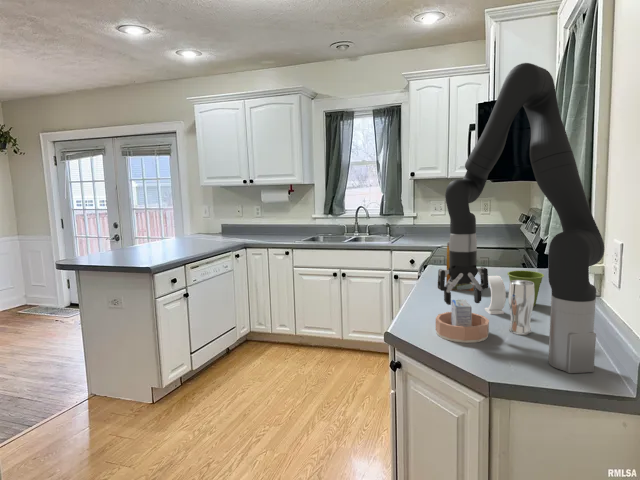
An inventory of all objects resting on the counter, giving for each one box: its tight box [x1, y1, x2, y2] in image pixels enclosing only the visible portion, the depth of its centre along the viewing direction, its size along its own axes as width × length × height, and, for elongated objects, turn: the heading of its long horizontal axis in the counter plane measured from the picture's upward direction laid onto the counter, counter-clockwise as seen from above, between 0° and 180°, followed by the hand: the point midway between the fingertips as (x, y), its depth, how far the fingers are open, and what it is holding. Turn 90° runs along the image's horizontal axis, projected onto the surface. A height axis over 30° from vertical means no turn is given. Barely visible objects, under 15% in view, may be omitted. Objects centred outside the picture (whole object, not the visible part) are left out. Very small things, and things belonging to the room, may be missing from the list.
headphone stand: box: [484, 275, 507, 315], centre depth 150 cm, size 5×6×12 cm
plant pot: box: [507, 269, 545, 307], centre depth 158 cm, size 12×12×11 cm
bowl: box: [435, 311, 490, 344], centre depth 131 cm, size 15×15×4 cm
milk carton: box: [445, 241, 475, 292], centre depth 184 cm, size 11×11×19 cm
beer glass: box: [508, 280, 535, 336], centre depth 131 cm, size 7×7×15 cm
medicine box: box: [451, 298, 473, 327], centre depth 131 cm, size 8×4×9 cm, turn 174°
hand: (462, 303), depth 130 cm, fingers open, 8 cm apart
